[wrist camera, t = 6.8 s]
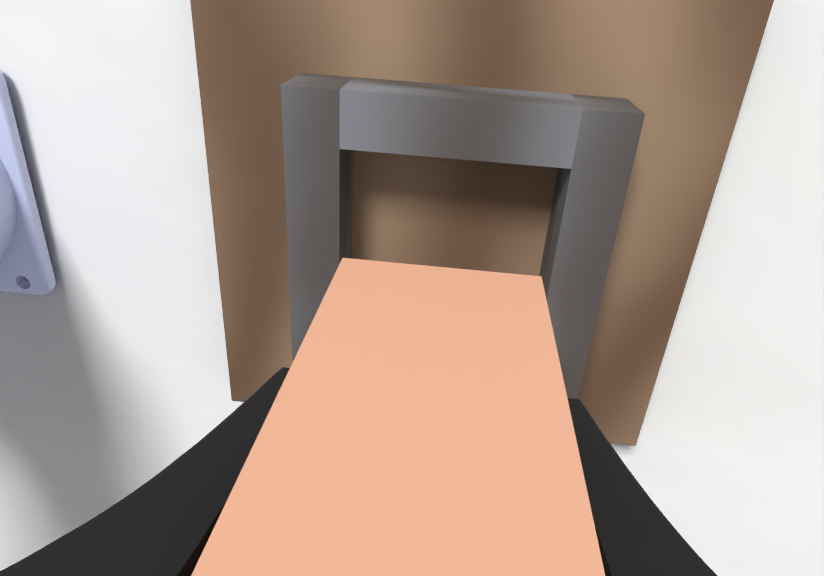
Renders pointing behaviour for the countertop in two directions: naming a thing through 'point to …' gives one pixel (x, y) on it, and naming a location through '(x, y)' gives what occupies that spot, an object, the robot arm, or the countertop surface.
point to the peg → (415, 439)
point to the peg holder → (472, 162)
